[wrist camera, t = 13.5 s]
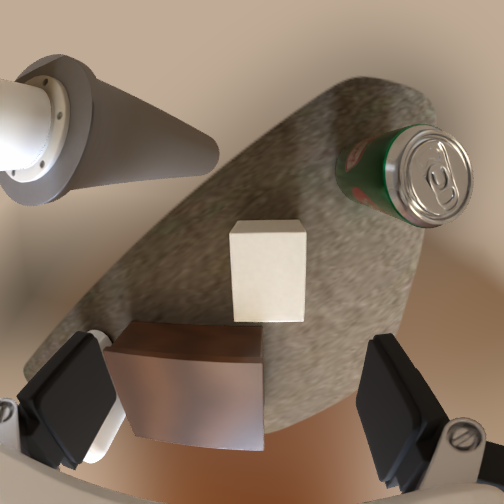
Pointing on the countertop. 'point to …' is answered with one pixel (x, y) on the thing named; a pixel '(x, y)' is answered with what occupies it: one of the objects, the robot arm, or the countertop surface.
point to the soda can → (408, 175)
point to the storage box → (191, 383)
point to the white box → (268, 270)
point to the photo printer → (113, 418)
